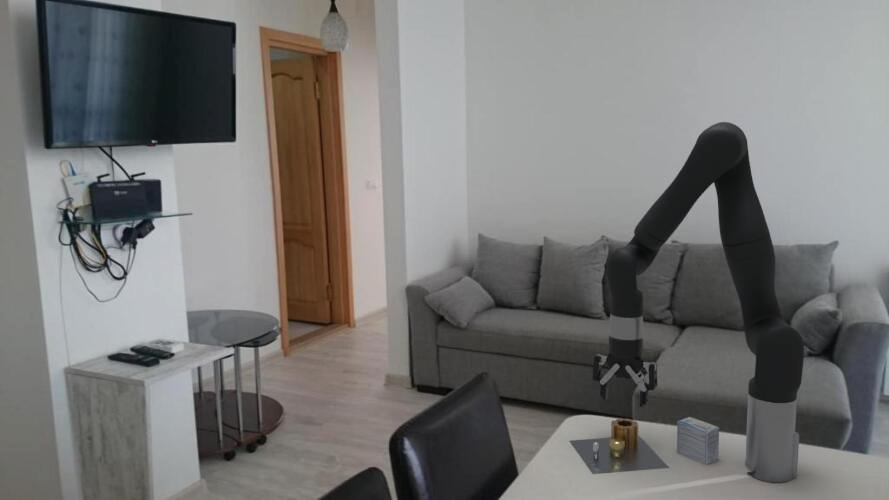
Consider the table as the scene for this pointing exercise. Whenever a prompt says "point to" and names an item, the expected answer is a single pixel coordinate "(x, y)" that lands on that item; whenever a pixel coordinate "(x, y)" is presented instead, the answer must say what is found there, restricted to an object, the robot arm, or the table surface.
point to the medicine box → (698, 440)
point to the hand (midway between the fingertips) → (623, 402)
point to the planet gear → (625, 432)
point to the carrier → (616, 455)
